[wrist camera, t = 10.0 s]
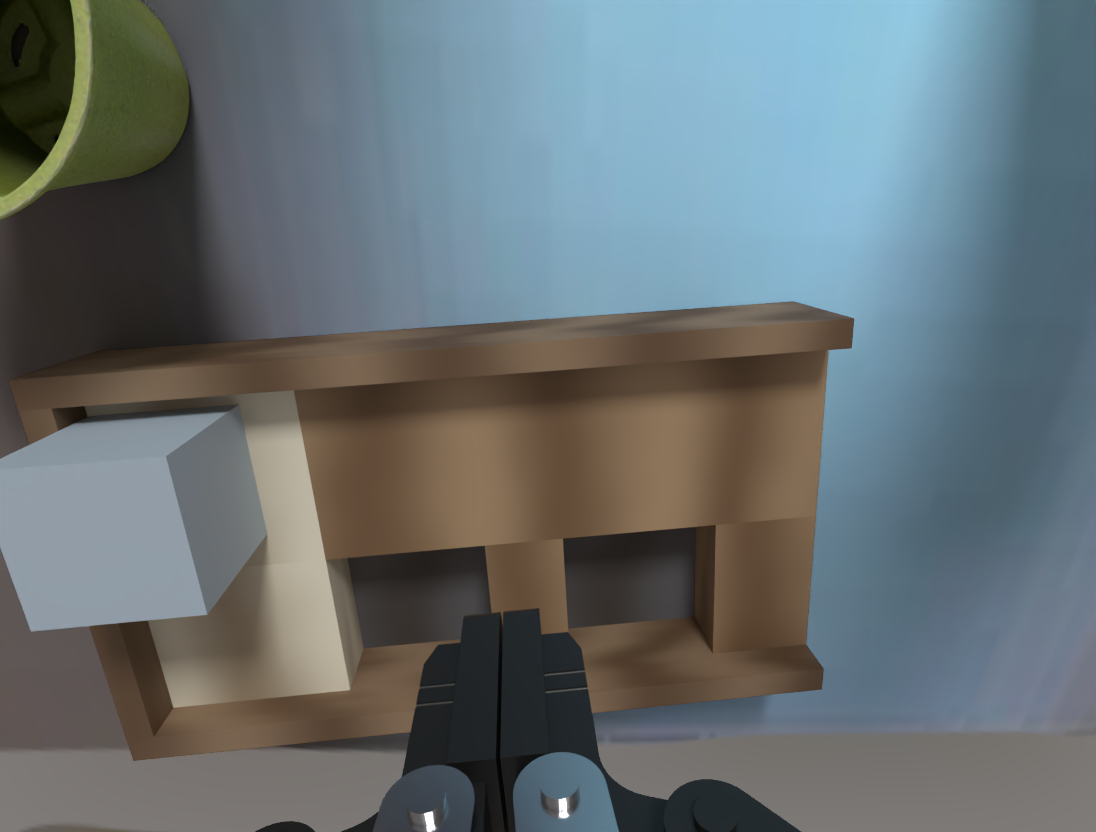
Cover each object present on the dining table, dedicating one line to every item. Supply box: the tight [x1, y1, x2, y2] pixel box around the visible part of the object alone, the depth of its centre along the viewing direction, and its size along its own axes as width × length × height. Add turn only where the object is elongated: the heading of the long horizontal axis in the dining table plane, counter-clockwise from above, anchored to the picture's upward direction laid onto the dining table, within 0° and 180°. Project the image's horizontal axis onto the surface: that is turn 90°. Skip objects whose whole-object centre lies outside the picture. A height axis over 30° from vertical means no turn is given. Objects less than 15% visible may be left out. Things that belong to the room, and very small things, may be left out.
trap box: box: [8, 302, 854, 761], centre depth 25 cm, size 27×15×4 cm, turn 94°
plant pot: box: [0, 0, 189, 220], centre depth 17 cm, size 9×9×9 cm
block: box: [0, 404, 267, 631], centre depth 20 cm, size 5×5×5 cm
